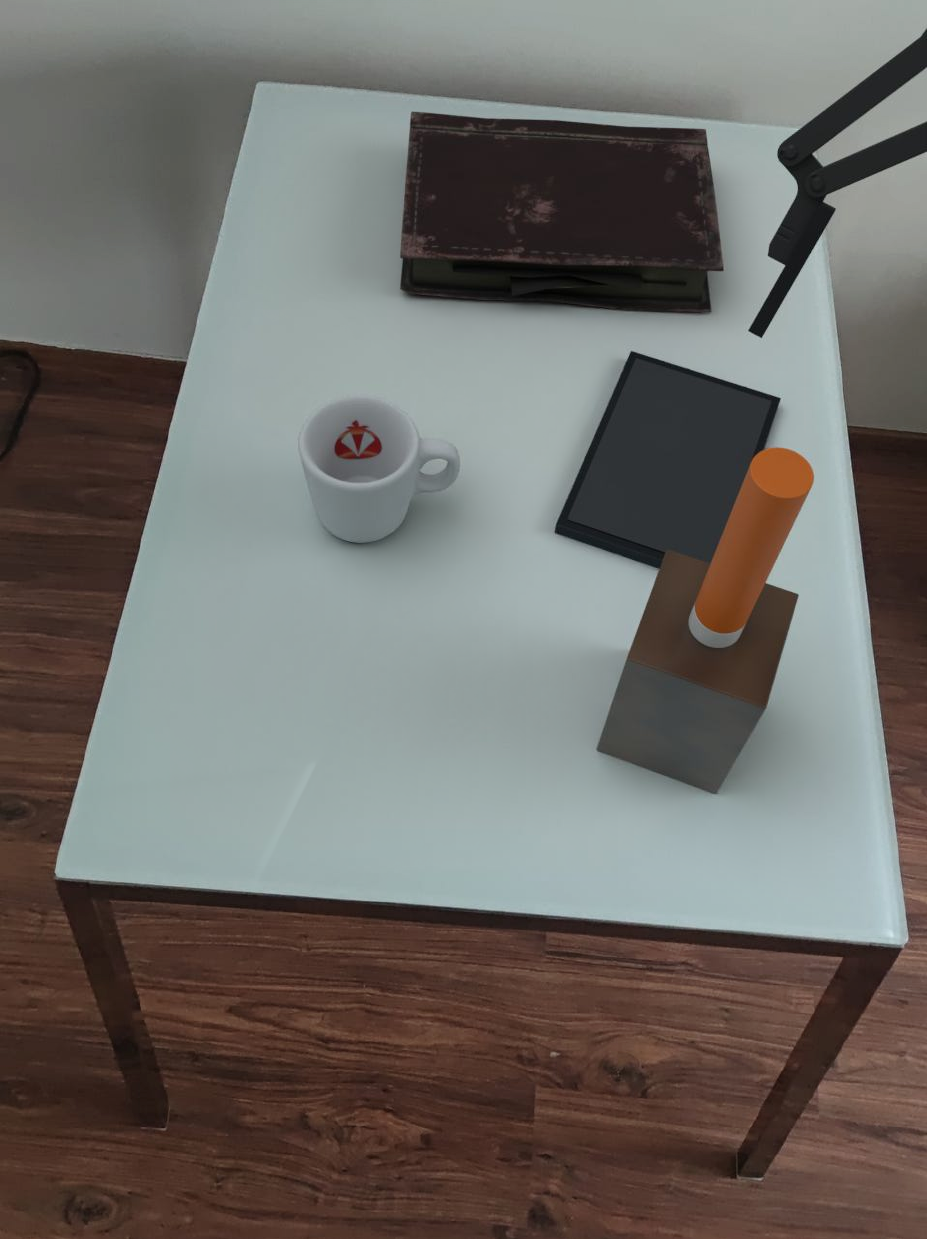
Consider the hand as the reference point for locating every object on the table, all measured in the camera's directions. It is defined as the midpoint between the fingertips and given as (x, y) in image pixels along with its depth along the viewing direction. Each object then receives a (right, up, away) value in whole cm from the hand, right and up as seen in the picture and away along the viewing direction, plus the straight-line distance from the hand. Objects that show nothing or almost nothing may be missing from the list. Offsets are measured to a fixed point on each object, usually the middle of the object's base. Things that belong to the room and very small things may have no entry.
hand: (879, 397), depth 60 cm
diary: (-13, +21, +43) cm, 49 cm away
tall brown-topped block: (-7, -17, +19) cm, 27 cm away
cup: (-26, -3, +27) cm, 38 cm away
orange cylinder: (-6, -11, +9) cm, 16 cm away
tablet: (-5, 0, +30) cm, 31 cm away
